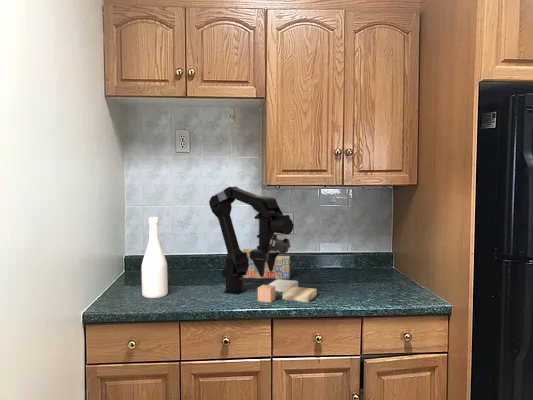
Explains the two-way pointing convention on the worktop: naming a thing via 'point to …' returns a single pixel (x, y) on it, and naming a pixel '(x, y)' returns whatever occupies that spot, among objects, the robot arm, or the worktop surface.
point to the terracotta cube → (266, 293)
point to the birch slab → (299, 294)
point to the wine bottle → (154, 265)
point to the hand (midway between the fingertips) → (266, 273)
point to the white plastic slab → (283, 284)
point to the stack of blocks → (279, 270)
